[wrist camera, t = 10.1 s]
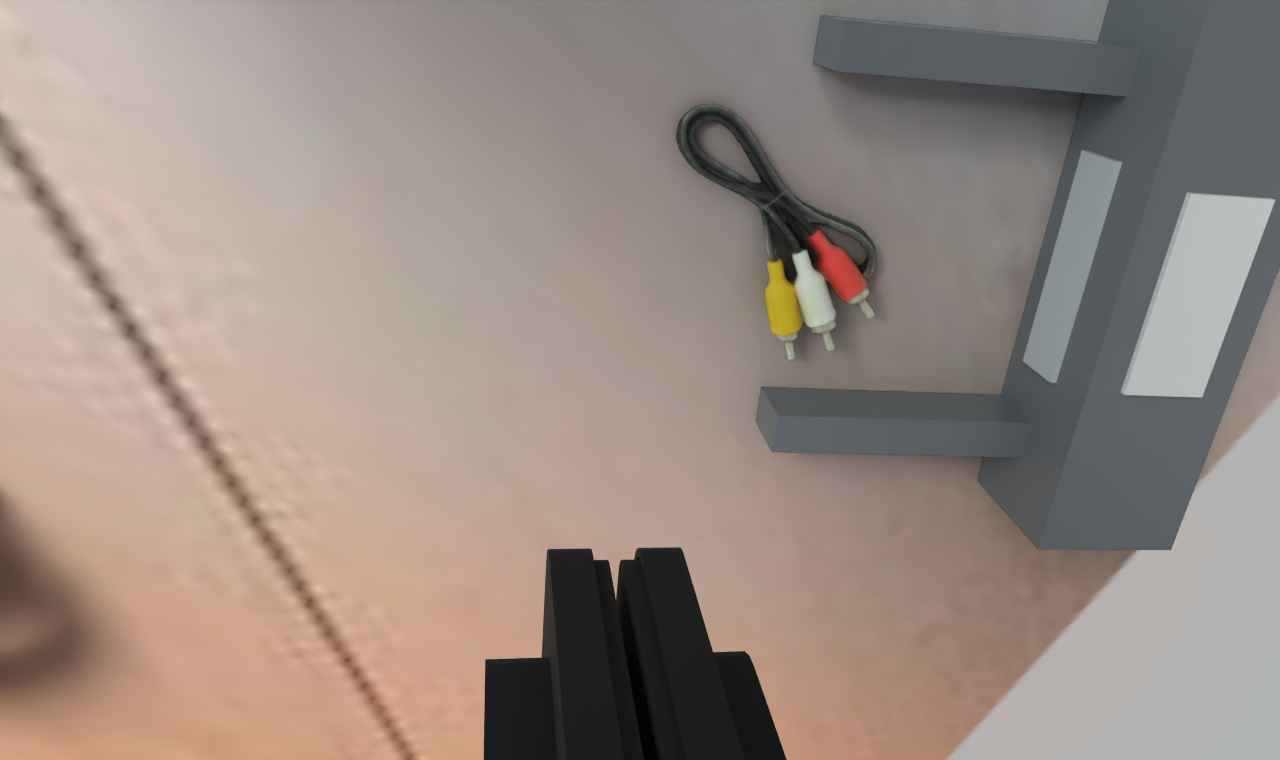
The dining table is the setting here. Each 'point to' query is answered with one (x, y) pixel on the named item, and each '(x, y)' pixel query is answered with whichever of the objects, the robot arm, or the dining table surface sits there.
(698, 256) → the dining table surface
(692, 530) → the dining table surface
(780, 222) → the composite cable
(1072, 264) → the dock
